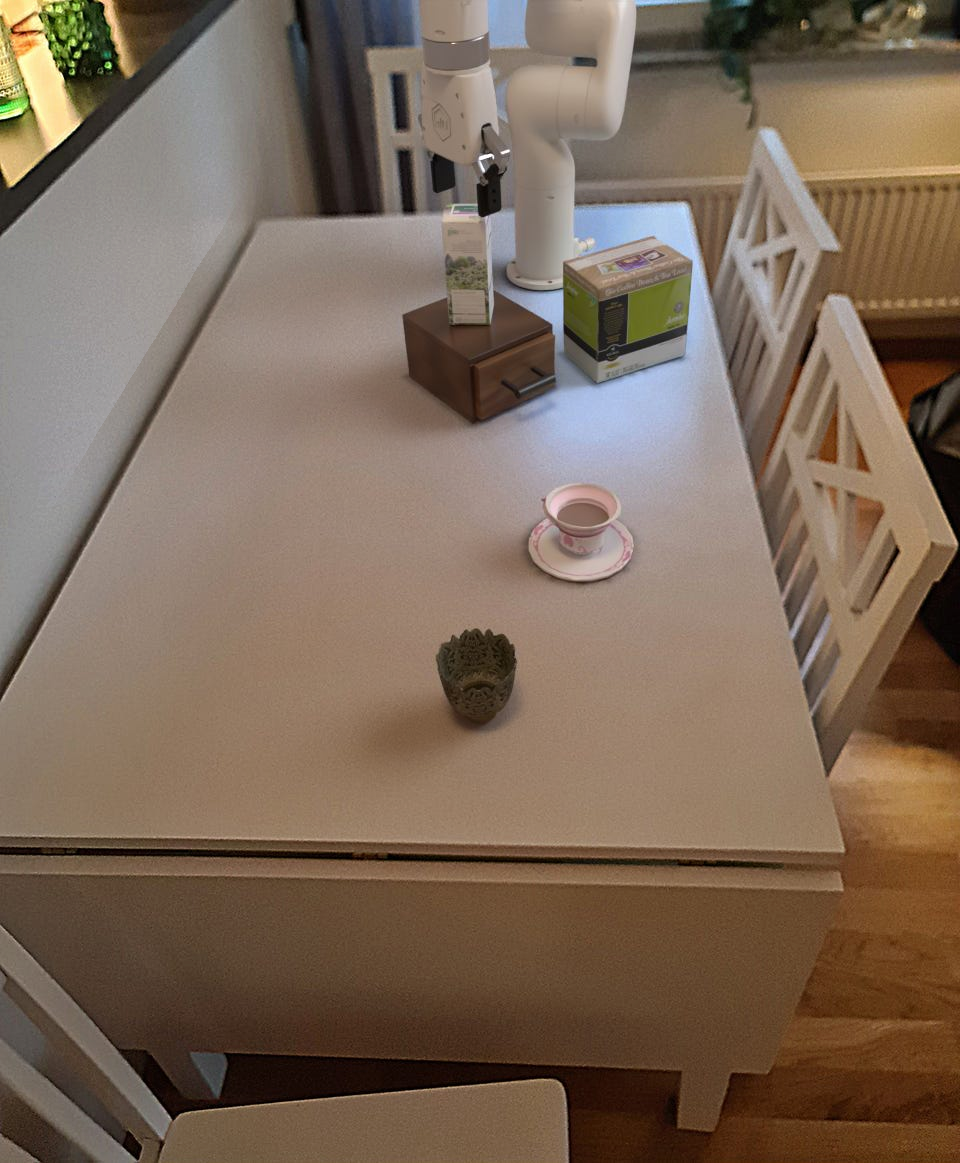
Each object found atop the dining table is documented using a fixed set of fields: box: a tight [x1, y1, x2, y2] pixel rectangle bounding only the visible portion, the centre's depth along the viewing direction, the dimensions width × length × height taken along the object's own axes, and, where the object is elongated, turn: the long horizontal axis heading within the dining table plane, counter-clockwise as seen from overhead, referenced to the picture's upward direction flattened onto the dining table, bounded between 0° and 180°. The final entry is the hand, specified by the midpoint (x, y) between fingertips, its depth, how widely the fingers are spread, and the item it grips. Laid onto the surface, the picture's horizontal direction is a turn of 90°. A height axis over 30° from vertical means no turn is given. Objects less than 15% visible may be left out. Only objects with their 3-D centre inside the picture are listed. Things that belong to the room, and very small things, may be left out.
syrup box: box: [440, 203, 494, 325], centre depth 124 cm, size 6×6×14 cm
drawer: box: [473, 332, 557, 421], centre depth 129 cm, size 19×13×8 cm, turn 36°
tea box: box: [562, 235, 694, 384], centre depth 133 cm, size 15×10×15 cm
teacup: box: [528, 482, 635, 583], centre depth 106 cm, size 12×12×6 cm
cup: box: [435, 627, 518, 724], centre depth 89 cm, size 8×7×8 cm
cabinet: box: [401, 289, 554, 424], centre depth 132 cm, size 16×14×10 cm
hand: (466, 201), depth 119 cm, fingers open, 9 cm apart
